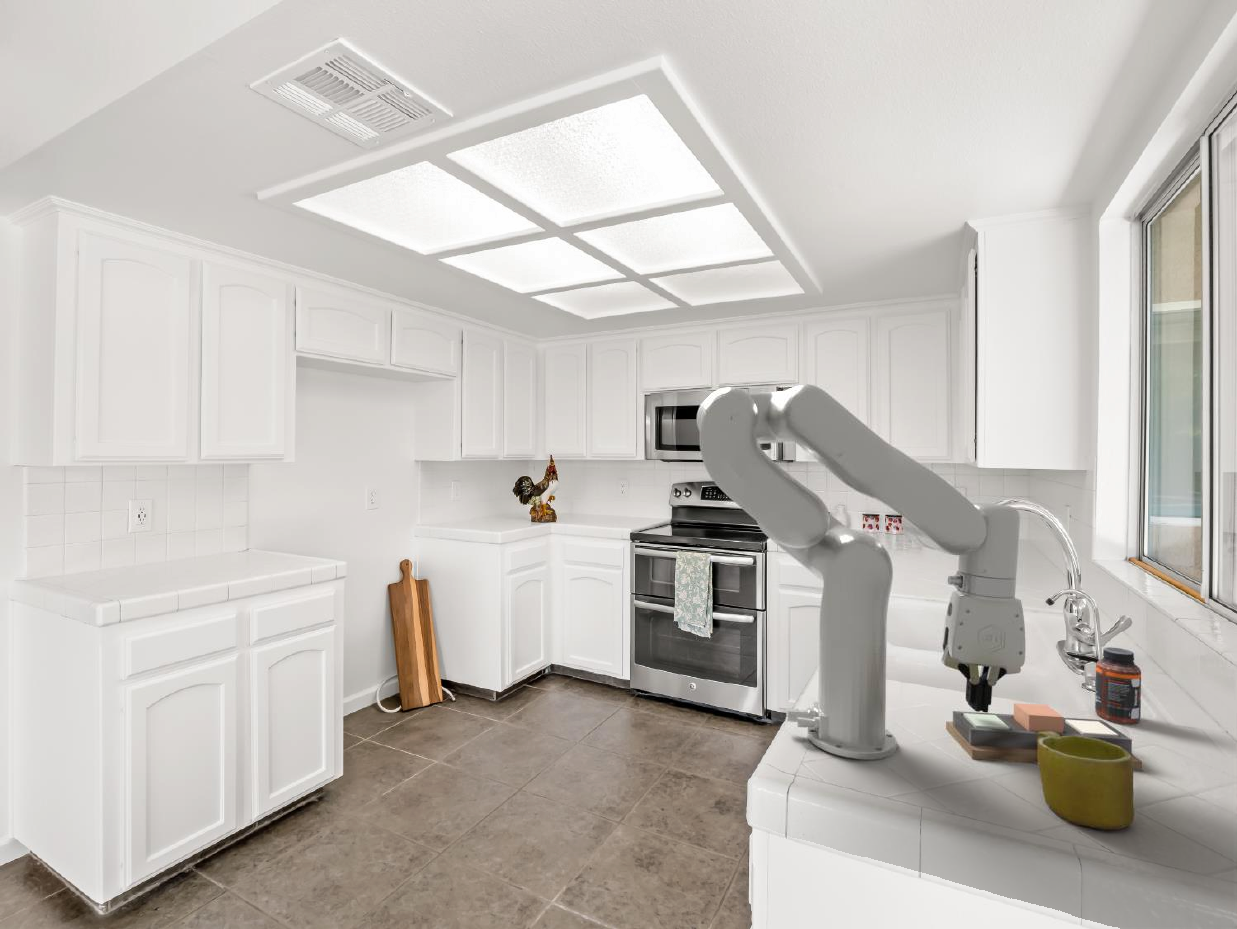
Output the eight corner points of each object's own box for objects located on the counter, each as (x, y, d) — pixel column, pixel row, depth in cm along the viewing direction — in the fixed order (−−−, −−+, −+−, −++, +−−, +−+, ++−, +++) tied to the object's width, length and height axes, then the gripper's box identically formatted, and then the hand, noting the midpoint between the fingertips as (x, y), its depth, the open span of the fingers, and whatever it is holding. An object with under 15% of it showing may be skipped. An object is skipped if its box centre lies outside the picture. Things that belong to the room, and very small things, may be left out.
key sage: (975, 742, 93) (976, 725, 93) (963, 728, 98) (963, 713, 98) (1009, 744, 92) (1009, 727, 92) (995, 730, 97) (995, 715, 97)
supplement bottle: (1149, 727, 102) (1150, 657, 102) (1107, 724, 103) (1108, 654, 103) (1127, 713, 108) (1128, 646, 108) (1087, 709, 109) (1088, 644, 109)
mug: (1177, 830, 70) (1136, 736, 72) (1078, 849, 72) (1041, 756, 74) (1119, 796, 82) (1085, 715, 84) (1035, 812, 83) (1005, 733, 86)
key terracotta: (1028, 731, 92) (1029, 715, 92) (1013, 718, 97) (1013, 703, 97) (1063, 733, 91) (1063, 717, 91) (1046, 720, 96) (1046, 704, 96)
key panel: (972, 758, 91) (972, 734, 91) (946, 729, 100) (946, 706, 100) (1142, 770, 88) (1142, 745, 88) (1097, 738, 98) (1098, 715, 97)
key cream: (1082, 749, 91) (1083, 732, 91) (1064, 735, 96) (1065, 719, 96) (1118, 751, 90) (1118, 734, 90) (1098, 737, 95) (1098, 721, 95)
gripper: (942, 587, 92) (933, 713, 92) (1053, 596, 90) (1044, 724, 90) (924, 577, 100) (916, 694, 100) (1026, 586, 98) (1019, 704, 98)
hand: (977, 708), depth 95 cm, fingers closed
